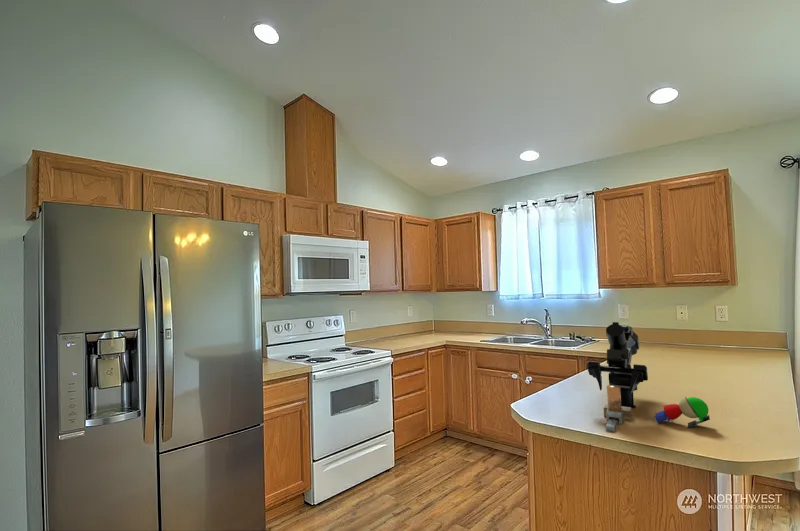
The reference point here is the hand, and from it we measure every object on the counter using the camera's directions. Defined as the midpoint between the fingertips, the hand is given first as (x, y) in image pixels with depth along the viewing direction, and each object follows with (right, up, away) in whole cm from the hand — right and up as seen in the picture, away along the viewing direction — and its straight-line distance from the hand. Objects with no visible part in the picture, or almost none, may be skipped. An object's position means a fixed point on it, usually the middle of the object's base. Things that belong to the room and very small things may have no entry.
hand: (615, 391), depth 143 cm
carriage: (-2, -9, -3) cm, 10 cm away
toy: (+18, -9, -8) cm, 21 cm away
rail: (-4, -9, -7) cm, 12 cm away
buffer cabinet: (+2, -9, +2) cm, 10 cm away
